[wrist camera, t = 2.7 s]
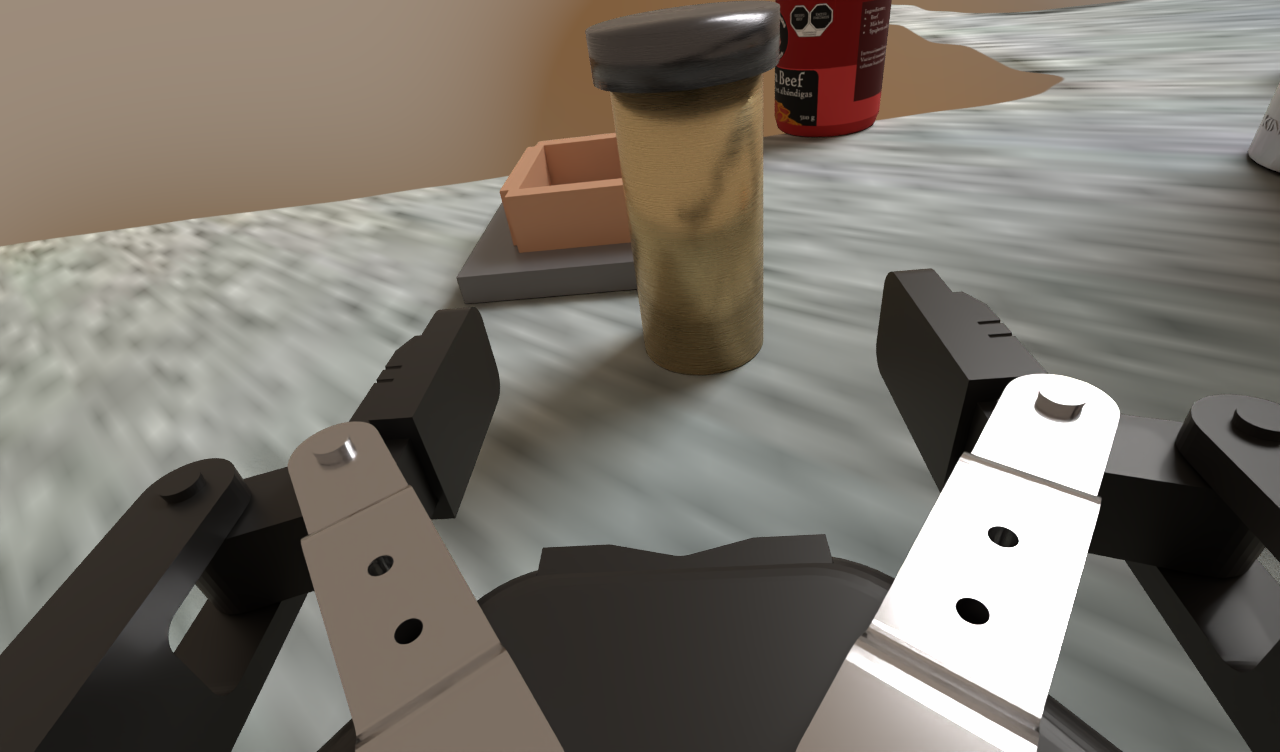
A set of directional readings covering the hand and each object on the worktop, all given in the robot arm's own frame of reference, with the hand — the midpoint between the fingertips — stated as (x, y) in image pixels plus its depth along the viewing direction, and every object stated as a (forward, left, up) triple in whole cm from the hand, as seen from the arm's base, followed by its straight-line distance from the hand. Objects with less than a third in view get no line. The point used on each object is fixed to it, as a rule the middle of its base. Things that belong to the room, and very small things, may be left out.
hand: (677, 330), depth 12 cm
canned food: (-12, -41, -8) cm, 44 cm away
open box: (+4, -23, -8) cm, 25 cm away
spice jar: (-1, -11, -8) cm, 14 cm away
